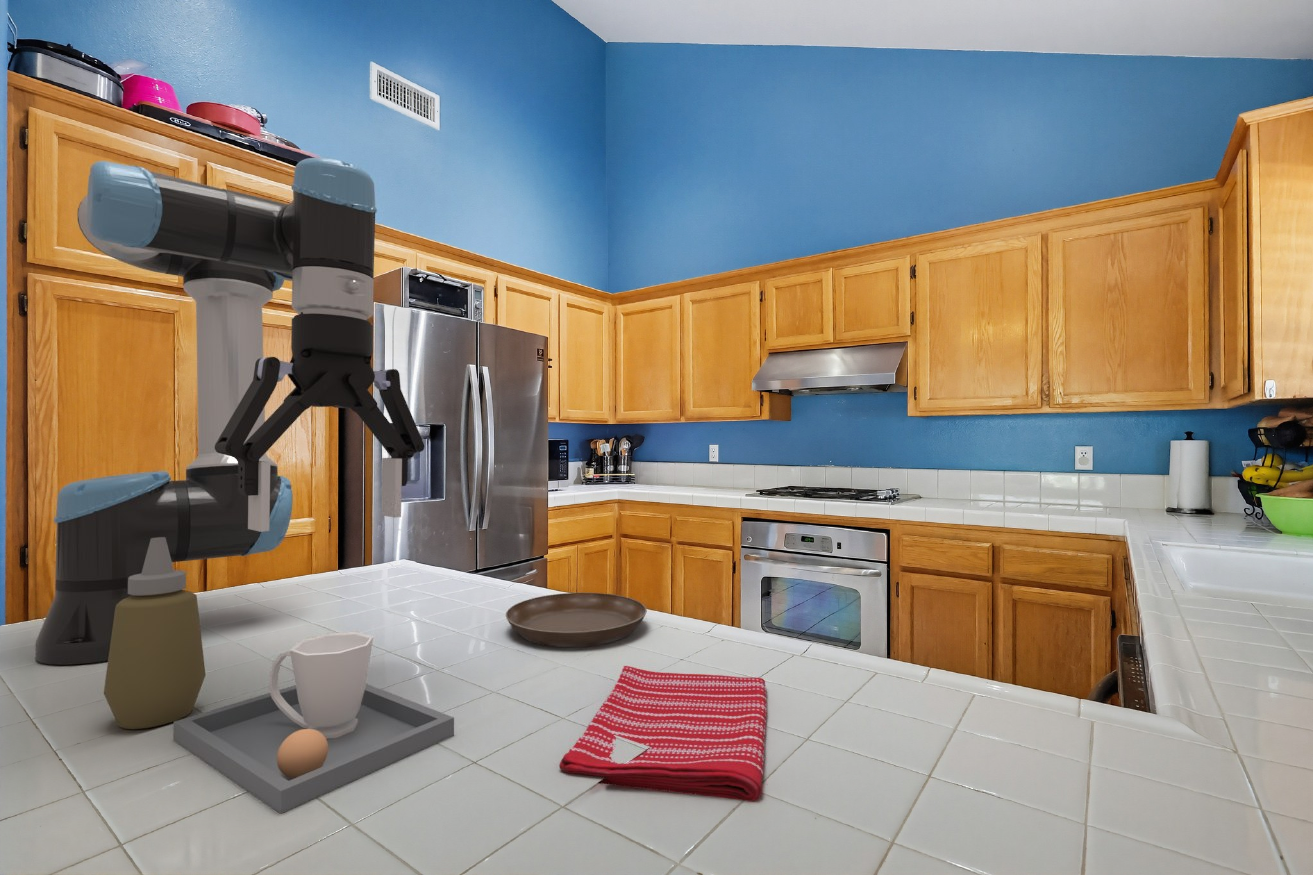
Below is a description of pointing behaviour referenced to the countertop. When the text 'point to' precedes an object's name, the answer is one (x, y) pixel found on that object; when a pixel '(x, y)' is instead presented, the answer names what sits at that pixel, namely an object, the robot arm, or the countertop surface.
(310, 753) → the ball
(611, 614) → the plant saucer
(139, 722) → the squeeze bottle
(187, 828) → the countertop surface
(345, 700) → the cup
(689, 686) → the dish towel
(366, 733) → the tray
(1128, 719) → the countertop surface
